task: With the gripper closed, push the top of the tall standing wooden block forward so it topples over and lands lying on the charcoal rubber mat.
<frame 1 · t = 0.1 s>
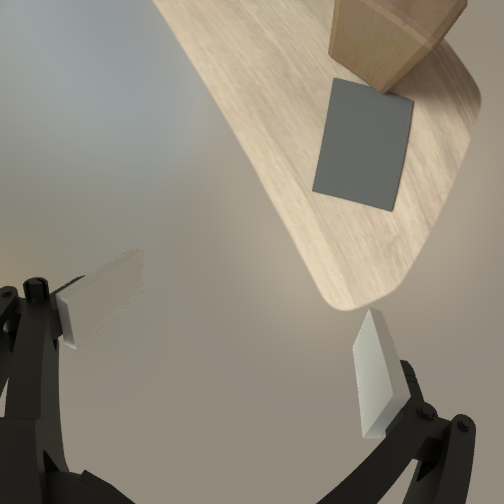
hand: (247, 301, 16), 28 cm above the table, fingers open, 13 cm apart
mat: (365, 143, 37), on the table
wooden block: (371, 54, 32), on the table, touching mat
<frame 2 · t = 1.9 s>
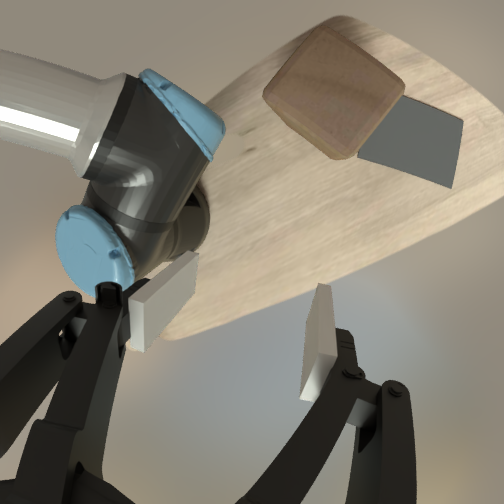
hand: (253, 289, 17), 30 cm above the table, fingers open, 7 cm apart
mat: (414, 137, 38), on the table
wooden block: (328, 117, 40), on the table, touching mat
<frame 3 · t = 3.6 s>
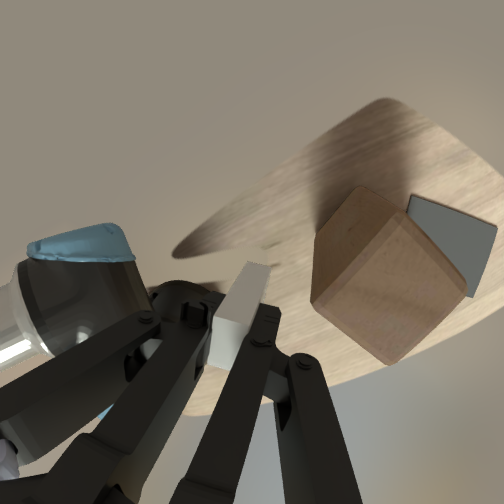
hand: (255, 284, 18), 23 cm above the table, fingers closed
mat: (447, 250, 36), on the table
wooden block: (362, 233, 38), on the table, touching mat
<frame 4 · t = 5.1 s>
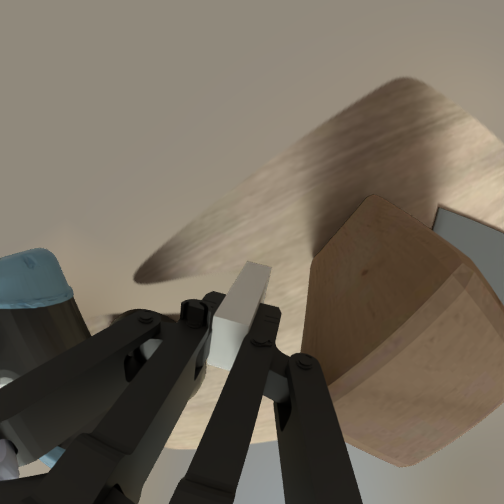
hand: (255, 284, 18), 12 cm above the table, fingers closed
mat: (477, 277, 26), on the table
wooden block: (374, 257, 28), on the table, touching mat
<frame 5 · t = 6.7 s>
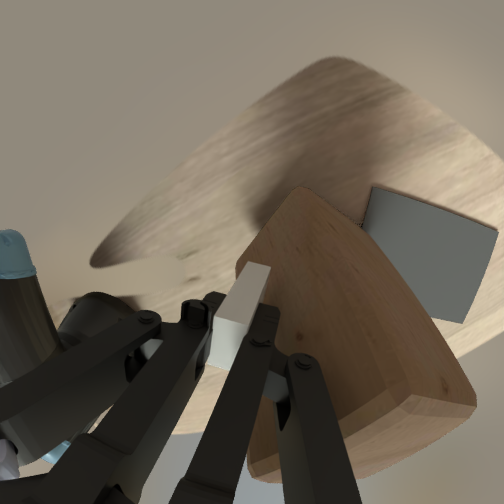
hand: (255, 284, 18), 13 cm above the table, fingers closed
mat: (427, 263, 27), on the table
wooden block: (303, 247, 28), point 2 cm above the table, touching gripper, mat
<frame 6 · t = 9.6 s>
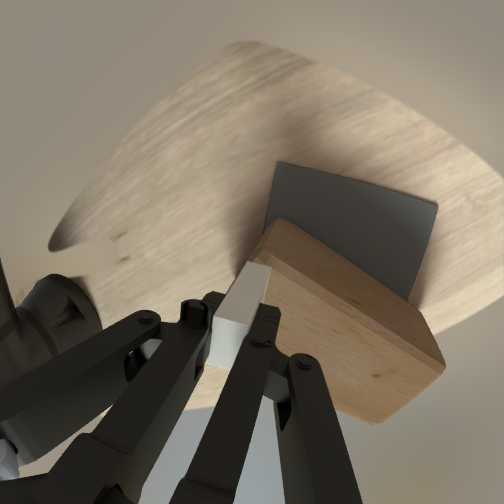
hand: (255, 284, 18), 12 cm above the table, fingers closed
mat: (348, 240, 28), on the table
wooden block: (238, 269, 26), point 5 cm above the table, touching mat
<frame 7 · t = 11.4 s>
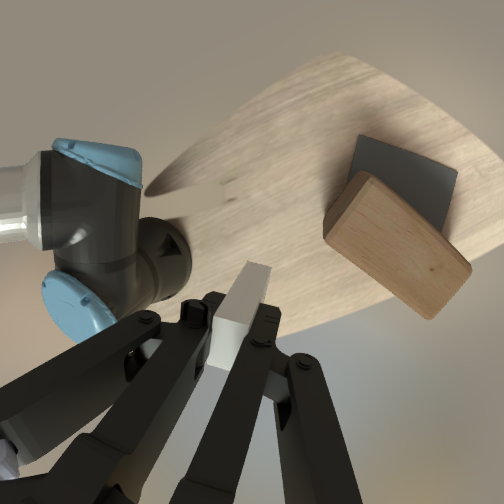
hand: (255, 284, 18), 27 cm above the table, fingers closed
mat: (402, 190, 39), on the table
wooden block: (340, 198, 36), point 5 cm above the table, touching mat
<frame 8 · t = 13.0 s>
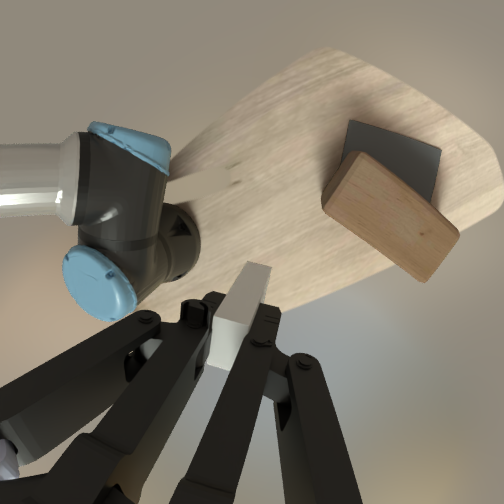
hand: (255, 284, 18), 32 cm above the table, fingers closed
mat: (391, 168, 43), on the table
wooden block: (336, 175, 40), point 5 cm above the table, touching mat
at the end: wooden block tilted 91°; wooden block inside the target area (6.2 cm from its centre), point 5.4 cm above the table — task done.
